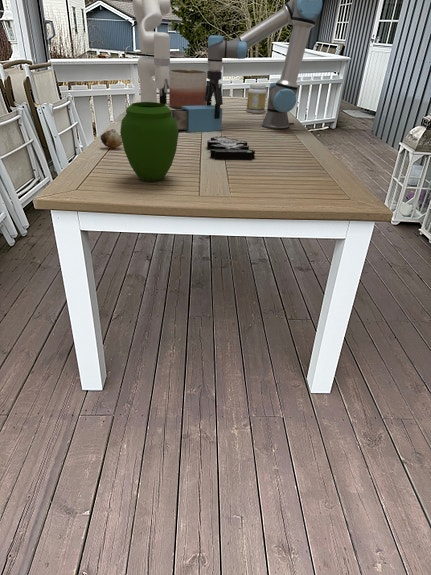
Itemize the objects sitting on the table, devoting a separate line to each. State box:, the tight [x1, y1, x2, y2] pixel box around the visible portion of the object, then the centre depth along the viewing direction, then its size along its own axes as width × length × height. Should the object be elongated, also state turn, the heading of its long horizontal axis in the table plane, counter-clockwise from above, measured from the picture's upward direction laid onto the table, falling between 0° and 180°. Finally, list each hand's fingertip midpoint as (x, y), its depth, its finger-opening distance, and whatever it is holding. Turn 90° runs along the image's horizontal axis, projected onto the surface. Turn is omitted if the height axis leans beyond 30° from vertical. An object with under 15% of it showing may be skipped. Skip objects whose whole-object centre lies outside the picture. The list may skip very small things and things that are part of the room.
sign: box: [206, 135, 256, 161], centre depth 185 cm, size 19×3×30 cm
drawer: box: [170, 108, 188, 130], centre depth 215 cm, size 24×9×9 cm, turn 115°
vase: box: [119, 101, 179, 182], centre depth 140 cm, size 20×20×24 cm
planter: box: [168, 69, 208, 109], centre depth 278 cm, size 25×25×22 cm
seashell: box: [100, 128, 123, 149], centre depth 178 cm, size 10×6×8 cm, turn 91°
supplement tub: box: [246, 83, 267, 114], centre depth 274 cm, size 12×12×17 cm
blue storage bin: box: [182, 104, 223, 133], centre depth 220 cm, size 19×10×11 cm, turn 115°
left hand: (163, 103), depth 207 cm, fingers closed
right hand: (212, 116), depth 222 cm, fingers closed on blue storage bin, 10 cm apart
